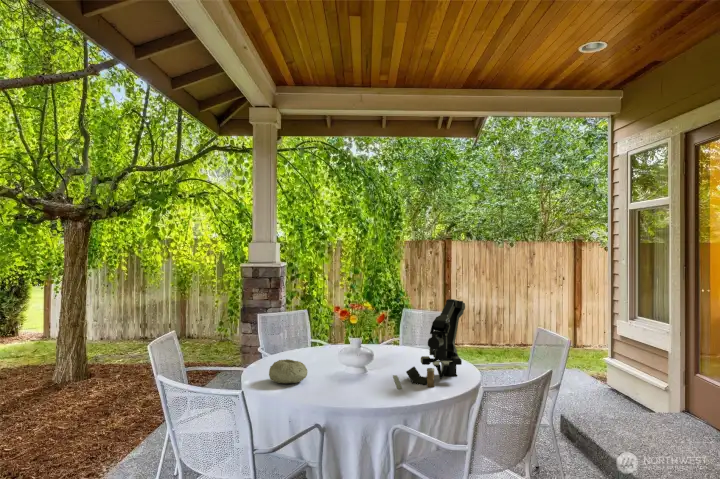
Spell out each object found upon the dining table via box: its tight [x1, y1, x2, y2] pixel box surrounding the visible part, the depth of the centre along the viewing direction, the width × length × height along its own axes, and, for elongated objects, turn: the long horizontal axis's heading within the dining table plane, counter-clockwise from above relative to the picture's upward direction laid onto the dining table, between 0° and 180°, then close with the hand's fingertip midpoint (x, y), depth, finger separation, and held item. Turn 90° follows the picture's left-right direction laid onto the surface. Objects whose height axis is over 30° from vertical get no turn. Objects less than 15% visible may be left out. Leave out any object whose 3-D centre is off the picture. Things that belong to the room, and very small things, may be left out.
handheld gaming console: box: [405, 366, 427, 386], centre depth 216 cm, size 12×7×10 cm
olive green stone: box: [268, 358, 309, 384], centre depth 213 cm, size 18×18×10 cm
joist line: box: [392, 374, 403, 390], centre depth 214 cm, size 2×22×1 cm, turn 1°
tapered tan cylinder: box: [426, 367, 435, 389], centre depth 207 cm, size 3×3×8 cm
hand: (440, 378), depth 216 cm, fingers closed
